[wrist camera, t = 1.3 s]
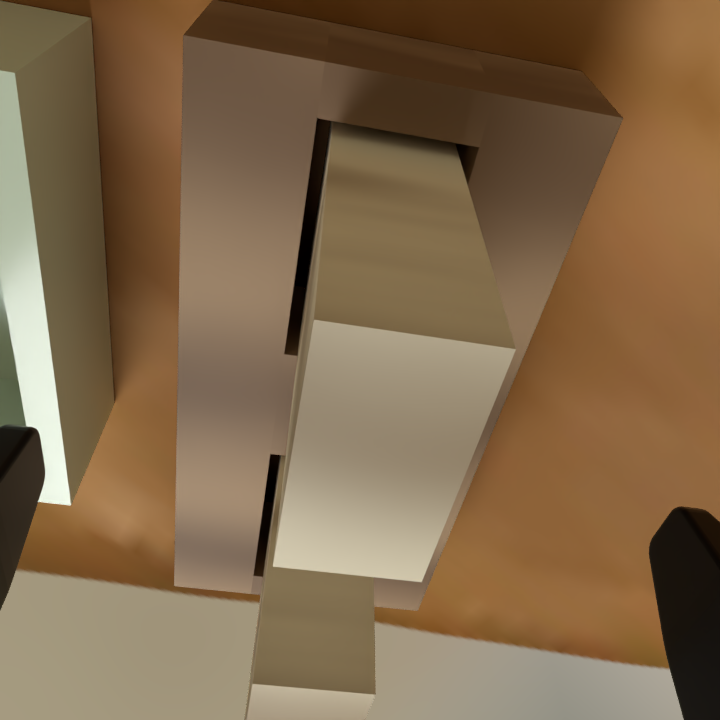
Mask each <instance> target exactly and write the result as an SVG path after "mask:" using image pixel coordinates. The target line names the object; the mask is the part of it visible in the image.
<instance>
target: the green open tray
mask: <svg viewBox="0 0 720 720" xmlns="http://www.w3.org/2000/svg"><path fill="white" fill-rule="evenodd" d="M114 403H115V402H114V385H113V369H112V352H111V336H110V319H109V303H108V286H107V269H106V253H105V236H104V220H103V203H102V186H101V170H100V153H99V137H98V120H97V104H96V87H95V70H94V54H93V37H92V21H91V18H90V17H84V16H79V15H74V14H69V13H63V12H58V11H53V10H47V9H42V8H37V7H31V6H26V5H21V4H16V3H10V2H5V1H0V427H1V426H3V425H6V424H12V425H20V426H28V427H33V428H36V429H37V430H38V432H39V434H40V439H41V445H42V451H43V458H44V464H45V480H44V485H43V488H42V491H41V494H40V497H39V501H38V502H45V503H54V504H63V505H71V504H72V502H73V500H74V497H75V495H76V493H77V490H78V488H79V486H80V483H81V481H82V478H83V476H84V474H85V471H86V469H87V467H88V464H89V462H90V460H91V457H92V455H93V453H94V450H95V448H96V446H97V443H98V441H99V439H100V436H101V434H102V431H103V429H104V427H105V424H106V422H107V420H108V417H109V415H110V413H111V410H112V408H113V406H114Z"/></svg>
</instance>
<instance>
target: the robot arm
mask: <svg viewBox="0 0 720 720" xmlns="http://www.w3.org/2000/svg"><path fill="white" fill-rule="evenodd" d="M44 480H45V464H44V458H43V451H42V445H41V439H40V434H39V432H38V430H37V429H36V428H33V427H28V426H20V425H12V424H6V425H3V426H1V427H0V610H1V608H2V605H3V603H4V601H5V598H6V596H7V593H8V591H9V588H10V585H11V583H12V580H13V577H14V574H15V571H16V568H17V565H18V562H19V559H20V556H21V553H22V550H23V547H24V544H25V540H26V537H27V534H28V531H29V528H30V525H31V522H32V519H33V516H34V513H35V510H36V507H37V504H38V501H39V497H40V494H41V491H42V488H43V485H44ZM649 558H650V564H651V570H652V576H653V582H654V588H655V594H656V600H657V606H658V611H659V617H660V623H661V629H662V635H663V641H664V646H665V651H666V655H667V659H668V663H669V667H670V671H671V675H672V678H673V682H674V686H675V689H676V693H677V696H678V700H679V704H680V707H681V711H682V715H683V718H684V720H720V522H719V521H718V520H717V519H716V518H715V517H714V516H712V515H711V514H710V513H709V512H707V511H706V510H703V509H698V508H690V507H682V506H681V507H677V508H675V509H673V510H672V511H671V513H670V514H669V515H668V517H667V518H666V520H665V521H664V522H663V524H662V525H661V527H660V528H659V529H658V531H657V532H656V534H655V535H654V536H653V538H652V540H651V543H650V547H649Z"/></svg>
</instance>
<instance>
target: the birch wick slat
mask: <svg viewBox="0 0 720 720" xmlns="http://www.w3.org/2000/svg"><path fill="white" fill-rule="evenodd" d="M515 350H516V348H515V344H514V341H513V337H512V334H511V331H510V327H509V324H508V321H507V317H506V314H505V310H504V307H503V304H502V300H501V297H500V293H499V290H498V287H497V283H496V280H495V277H494V273H493V270H492V266H491V263H490V260H489V256H488V253H487V249H486V246H485V243H484V239H483V236H482V232H481V229H480V226H479V222H478V219H477V216H476V212H475V209H474V205H473V202H472V199H471V195H470V192H469V188H468V185H467V182H466V178H465V175H464V172H463V168H462V165H461V161H460V158H459V155H458V151H457V148H456V144H455V143H453V142H447V141H441V140H436V139H430V138H425V137H419V136H413V135H408V134H402V133H397V132H391V131H386V130H380V129H374V128H369V127H363V126H358V125H352V124H347V123H341V122H335V121H330V127H329V134H328V140H327V147H326V154H325V160H324V167H323V173H322V180H321V187H320V193H319V200H318V206H317V213H316V220H315V226H314V233H313V239H312V246H311V252H310V259H309V266H308V272H307V279H306V288H305V296H304V305H303V313H302V322H301V330H300V339H299V347H298V356H297V364H296V373H295V381H294V390H293V398H292V407H291V415H290V424H289V432H288V441H287V449H286V458H285V466H284V475H283V483H282V492H281V500H280V509H279V517H278V526H277V534H276V543H275V552H274V560H273V567H282V568H291V569H301V570H310V571H320V572H329V573H339V574H348V575H358V576H367V577H377V578H386V579H396V580H405V581H415V582H422V580H423V578H424V575H425V573H426V570H427V568H428V565H429V563H430V560H431V558H432V555H433V553H434V550H435V548H436V545H437V543H438V540H439V538H440V536H441V533H442V531H443V528H444V526H445V523H446V521H447V518H448V516H449V513H450V511H451V508H452V506H453V503H454V501H455V499H456V496H457V494H458V491H459V489H460V486H461V484H462V481H463V479H464V476H465V474H466V471H467V469H468V466H469V464H470V461H471V459H472V457H473V454H474V452H475V449H476V447H477V444H478V442H479V439H480V437H481V434H482V432H483V429H484V427H485V424H486V422H487V419H488V417H489V415H490V412H491V410H492V407H493V405H494V402H495V400H496V397H497V395H498V392H499V390H500V387H501V385H502V382H503V380H504V378H505V375H506V373H507V370H508V368H509V365H510V363H511V360H512V358H513V355H514V353H515Z"/></svg>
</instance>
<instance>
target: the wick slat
mask: <svg viewBox="0 0 720 720" xmlns="http://www.w3.org/2000/svg"><path fill="white" fill-rule="evenodd" d="M285 458H286V456H283V455H280V457H279V463H278V470H277V476H276V483H275V490H274V496H273V504H272V512H271V519H270V527H269V535H268V542H267V550H266V558H265V565H264V573H263V581H262V588H261V596H260V604H259V612H258V620H257V627H256V634H255V643H254V650H253V658H252V665H251V673H250V680H249V688H248V696H247V703H246V712H245V719H244V720H365V719H366V717H367V714H368V712H369V710H370V707H371V705H372V702H373V700H374V697H375V694H376V693H375V635H374V633H375V632H374V577H367V576H358V575H348V574H339V573H329V572H320V571H310V570H301V569H291V568H282V567H273V560H274V552H275V543H276V534H277V526H278V517H279V509H280V500H281V492H282V483H283V475H284V466H285Z"/></svg>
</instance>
